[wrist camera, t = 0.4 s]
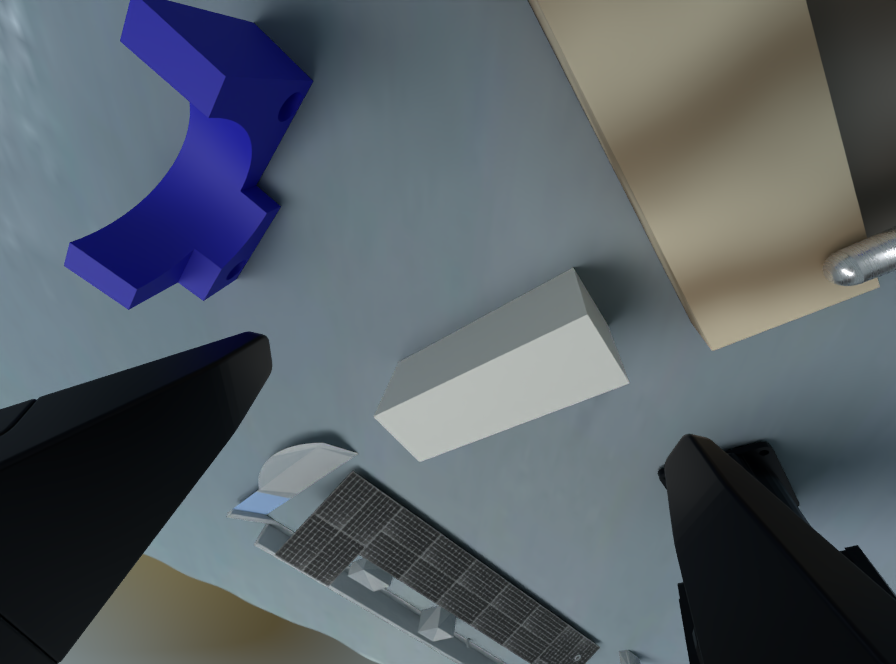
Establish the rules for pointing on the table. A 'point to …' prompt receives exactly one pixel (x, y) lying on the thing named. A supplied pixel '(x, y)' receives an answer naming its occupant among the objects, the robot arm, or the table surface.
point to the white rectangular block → (503, 370)
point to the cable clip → (199, 157)
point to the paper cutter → (402, 565)
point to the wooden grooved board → (745, 144)
